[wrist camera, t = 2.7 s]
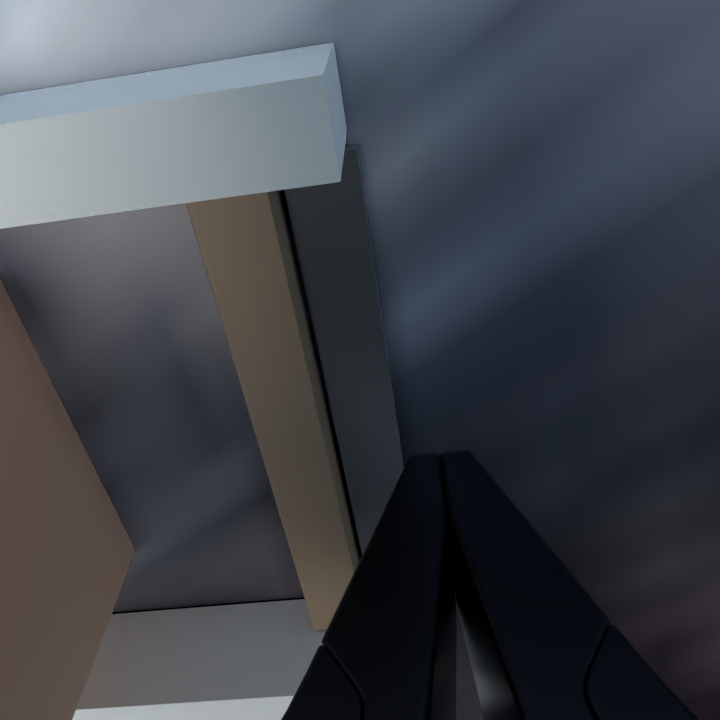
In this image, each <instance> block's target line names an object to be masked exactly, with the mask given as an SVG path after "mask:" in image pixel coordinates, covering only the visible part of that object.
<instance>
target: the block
mask: <svg viewBox="0 0 720 720" xmlns="http://www.w3.org/2000/svg"><path fill="white" fill-rule="evenodd" d="M135 551H136V550H135V548H134V546H133V544H132V542H131V540H130V538H129V536H128V534H127V532H126V530H125V528H124V526H123V524H122V522H121V520H120V518H119V516H118V514H117V512H116V510H115V508H114V506H113V504H112V502H111V500H110V498H109V496H108V494H107V492H106V490H105V488H104V486H103V484H102V482H101V480H100V478H99V476H98V474H97V472H96V470H95V468H94V466H93V464H92V462H91V460H90V458H89V456H88V454H87V452H86V450H85V448H84V446H83V444H82V442H81V440H80V438H79V436H78V434H77V432H76V430H75V428H74V426H73V424H72V422H71V420H70V418H69V416H68V414H67V412H66V410H65V408H64V406H63V404H62V402H61V400H60V398H59V396H58V394H57V392H56V390H55V388H54V386H53V384H52V382H51V380H50V378H49V376H48V374H47V372H46V370H45V368H44V366H43V364H42V362H41V360H40V358H39V356H38V354H37V352H36V350H35V348H34V346H33V344H32V342H31V340H30V338H29V336H28V334H27V332H26V330H25V328H24V326H23V324H22V322H21V320H20V318H19V316H18V314H17V312H16V310H15V308H14V306H13V303H12V301H11V299H10V297H9V295H8V293H7V291H6V289H5V287H4V285H3V283H2V281H1V279H0V720H72V719H73V716H74V713H75V711H76V708H77V705H78V703H79V700H80V697H81V695H82V692H83V689H84V687H85V684H86V681H87V679H88V676H89V673H90V671H91V668H92V665H93V663H94V660H95V657H96V655H97V652H98V649H99V647H100V644H101V641H102V639H103V636H104V634H105V631H106V628H107V626H108V623H109V620H110V618H111V615H112V612H113V610H114V607H115V604H116V602H117V599H118V596H119V594H120V591H121V588H122V586H123V583H124V580H125V578H126V575H127V572H128V570H129V567H130V564H131V562H132V559H133V556H134V554H135Z"/></svg>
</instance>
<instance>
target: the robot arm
mask: <svg viewBox="0 0 720 720" xmlns="http://www.w3.org/2000/svg"><path fill="white" fill-rule="evenodd" d="M440 462H441V463H440ZM453 578H454V580H453ZM454 587H455V590H454ZM455 595H456V601H457V608H458V613H459V617H460V622H461V627H462V631H463V635H464V639H465V643H466V647H467V651H468V655H469V659H470V663H471V667H472V671H473V675H474V679H475V683H476V688H477V692H478V696H479V700H480V704H481V708H482V712H483V716H484V720H700V719H699V718H698V717H697V716H696V715H695V714H694V713H693V712H692V711H691V710H690V709H689V708H688V707H687V706H686V705H685V704H684V703H683V702H682V701H681V700H680V699H679V698H678V697H677V696H676V695H675V694H674V693H673V692H672V690H671V689H670V688H669V687H668V686H667V685H666V684H665V683H664V682H663V681H662V680H661V678H660V677H659V676H658V675H657V674H656V673H655V672H654V670H653V669H652V668H651V667H650V666H649V665H648V664H647V663H646V661H645V660H644V659H643V658H642V657H641V656H640V655H639V653H638V652H637V651H636V650H635V649H634V648H633V646H632V645H631V644H630V643H629V642H628V640H627V639H626V638H625V637H624V635H623V634H622V633H621V632H620V631H619V629H618V628H617V627H616V626H615V625H611V621H610V619H609V618H608V617H607V615H606V614H605V613H604V612H603V611H602V609H601V608H600V607H599V606H598V605H597V603H596V602H595V601H594V600H593V598H592V597H591V596H590V595H589V594H588V592H587V591H586V590H585V589H584V588H583V586H582V585H581V584H580V583H579V582H578V580H577V579H576V578H575V577H574V576H573V574H572V573H571V572H570V571H569V570H568V568H567V567H566V566H565V565H564V563H563V562H562V561H561V560H560V559H559V557H558V556H557V555H556V554H555V553H554V551H553V550H552V549H551V548H550V547H549V545H548V544H547V543H546V542H545V541H544V539H543V538H542V537H541V536H540V535H539V533H538V532H537V531H536V530H535V529H534V527H533V526H532V525H531V524H530V522H529V521H528V520H527V519H526V518H525V516H524V515H523V514H522V513H521V512H520V510H519V509H518V508H517V507H516V506H515V504H514V503H513V502H512V501H511V500H510V498H509V497H508V496H507V495H506V494H505V492H504V491H503V490H502V489H501V487H500V486H499V485H498V484H497V483H496V481H495V480H494V479H493V478H492V477H491V475H490V474H489V473H488V472H487V471H486V469H485V468H484V467H483V466H482V465H481V463H480V462H479V461H478V460H477V459H476V457H475V456H474V455H473V454H472V453H471V452H470V451H468V450H456V451H446V452H443V453H441V455H440V457H439V455H438V454H437V453H425V454H414V455H412V456H410V457H409V459H408V460H407V462H406V464H405V467H404V469H403V471H402V473H401V475H400V477H399V479H398V481H397V483H396V485H395V488H394V490H393V492H392V494H391V496H390V498H389V500H388V502H387V504H386V506H385V509H384V511H383V513H382V515H381V517H380V519H379V521H378V523H377V525H376V527H375V530H374V532H373V534H372V536H371V538H370V540H369V542H368V544H367V546H366V548H365V551H364V553H363V555H362V557H361V559H360V561H359V563H358V565H357V567H356V569H355V572H354V574H353V576H352V578H351V580H350V582H349V584H348V586H347V588H346V590H345V593H344V595H343V597H342V599H341V601H340V603H339V605H338V607H337V609H336V611H335V614H334V616H333V618H332V620H331V622H330V624H329V626H328V628H327V630H326V632H325V635H324V637H323V639H322V645H320V646H319V647H318V649H317V651H316V653H315V655H314V657H313V659H312V661H311V663H310V665H309V668H308V670H307V672H306V674H305V676H304V678H303V680H302V681H301V683H300V685H299V687H298V689H297V691H296V693H295V695H294V697H293V699H292V701H291V703H290V705H289V707H288V709H287V710H286V712H285V714H284V715H283V717H282V719H281V720H456V629H457V625H456V601H455Z"/></svg>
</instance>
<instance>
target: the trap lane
mask: <svg viewBox="0 0 720 720" xmlns="http://www.w3.org/2000/svg"><path fill="white" fill-rule="evenodd" d="M346 134H347V126H346V119H345V113H344V106H343V100H342V93H341V86H340V80H339V73H338V67H337V60H336V54H335V47H334V42H333V43H327V44H320V45H314V46H308V47H301V48H295V49H289V50H282V51H276V52H270V53H263V54H257V55H251V56H244V57H238V58H232V59H226V60H219V61H213V62H207V63H200V64H194V65H188V66H181V67H175V68H169V69H162V70H156V71H150V72H143V73H137V74H131V75H124V76H118V77H112V78H106V79H99V80H93V81H87V82H80V83H74V84H68V85H61V86H55V87H49V88H42V89H36V90H30V91H23V92H17V93H11V94H4V95H0V229H3V228H10V227H18V226H25V225H32V224H39V223H46V222H54V221H61V220H68V219H75V218H83V217H90V216H97V215H104V214H112V213H119V212H126V211H133V210H140V209H148V208H155V207H162V206H169V205H177V204H184V203H186V205H187V208H188V212H189V215H190V218H191V222H192V225H193V228H194V232H195V235H196V238H197V242H198V245H199V248H200V252H201V255H202V258H203V262H204V265H205V268H206V272H207V275H208V278H209V282H210V285H211V288H212V292H213V295H214V298H215V302H216V305H217V308H218V312H219V315H220V318H221V322H222V325H223V328H224V332H225V335H226V338H227V342H228V345H229V348H230V352H231V355H232V358H233V361H234V365H235V368H236V371H237V375H238V378H239V381H240V385H241V388H242V391H243V395H244V398H245V401H246V405H247V408H248V411H249V415H250V418H251V421H252V425H253V428H254V431H255V435H256V438H257V441H258V445H259V448H260V451H261V455H262V458H263V461H264V465H265V468H266V471H267V475H268V478H269V481H270V485H271V488H272V491H273V495H274V498H275V501H276V505H277V508H278V511H279V515H280V518H281V521H282V525H283V528H284V531H285V534H286V538H287V541H288V544H289V548H290V551H291V554H292V558H293V561H294V564H295V568H296V571H297V574H298V578H299V581H300V584H301V588H302V591H303V594H304V598H305V599H298V600H286V601H273V602H260V603H248V604H235V605H222V606H210V607H197V608H184V609H172V610H159V611H146V612H134V613H121V614H112V615H111V618H110V620H109V623H108V626H107V628H106V631H105V634H104V636H103V639H102V641H101V644H100V647H99V649H98V652H97V655H96V657H95V660H94V663H93V665H92V668H91V671H90V673H89V676H88V679H87V681H86V684H85V687H84V689H83V692H82V695H81V697H80V700H79V703H78V705H77V708H76V711H75V713H74V716H73V719H72V720H281V719H282V717H283V715H284V714H285V712H286V710H287V709H288V707H289V705H290V703H291V701H292V699H293V697H294V695H295V693H296V691H297V689H298V687H299V685H300V683H301V681H302V680H303V678H304V676H305V674H306V672H307V670H308V668H309V665H310V663H311V661H312V659H313V657H314V655H315V653H316V651H317V649H318V647H319V646H320V645H322V639H323V637H324V635H325V632H326V630H327V628H328V626H329V624H330V622H331V620H332V618H333V616H334V614H335V611H336V609H337V607H338V605H339V603H340V601H341V599H342V597H343V595H344V593H345V590H346V588H347V586H348V584H349V582H350V580H351V578H352V576H353V574H354V572H355V569H356V567H357V565H358V563H359V561H360V558H359V554H358V549H357V544H356V540H355V535H354V531H353V526H352V522H351V517H350V512H349V508H348V503H347V499H346V494H345V489H344V485H343V480H342V476H341V471H340V466H339V462H338V457H337V453H336V448H335V443H334V439H333V434H332V430H331V425H330V420H329V416H328V411H327V407H326V402H325V397H324V393H323V388H322V384H321V379H320V374H319V370H318V365H317V361H316V356H315V351H314V347H313V342H312V338H311V333H310V328H309V324H308V319H307V315H306V310H305V305H304V301H303V296H302V292H301V287H300V283H299V278H298V273H297V269H296V264H295V260H294V255H293V250H292V246H291V241H290V237H289V232H288V227H287V223H286V218H285V214H284V209H283V204H282V200H281V195H280V191H279V190H284V191H285V196H286V201H287V205H288V210H289V215H290V219H291V224H292V229H293V233H294V238H295V243H296V247H297V252H298V257H299V261H300V266H301V271H302V276H303V280H304V285H305V290H306V294H307V299H308V304H309V308H310V313H311V318H312V322H313V327H314V332H315V336H316V341H317V346H318V351H319V355H320V360H321V365H322V369H323V374H324V379H325V383H326V388H327V393H328V397H329V402H330V407H331V411H332V416H333V421H334V425H335V430H336V435H337V440H338V444H339V449H340V454H341V458H342V463H343V468H344V472H345V477H346V482H347V486H348V491H349V496H350V500H351V505H352V510H353V515H354V519H355V524H356V529H357V533H358V538H359V543H360V547H361V552H362V555H363V553H364V551H365V548H366V546H367V544H368V542H369V540H370V538H371V536H372V534H373V532H374V530H375V527H376V525H377V523H378V521H379V519H380V517H381V515H382V513H383V511H384V509H385V506H386V504H387V502H388V500H389V498H390V496H391V494H392V492H393V490H394V488H395V485H396V483H397V481H398V479H399V477H400V475H401V473H402V471H403V469H404V462H403V455H402V448H401V441H400V434H399V427H398V421H397V414H396V407H395V400H394V393H393V386H392V379H391V372H390V366H389V359H388V352H387V345H386V338H385V331H384V324H383V317H382V311H381V304H380V297H379V290H378V283H377V276H376V269H375V263H374V256H373V249H372V242H371V235H370V228H369V221H368V214H367V208H366V201H365V194H364V187H363V180H362V173H361V166H360V159H359V153H358V146H357V145H352V146H345V142H346Z"/></svg>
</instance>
